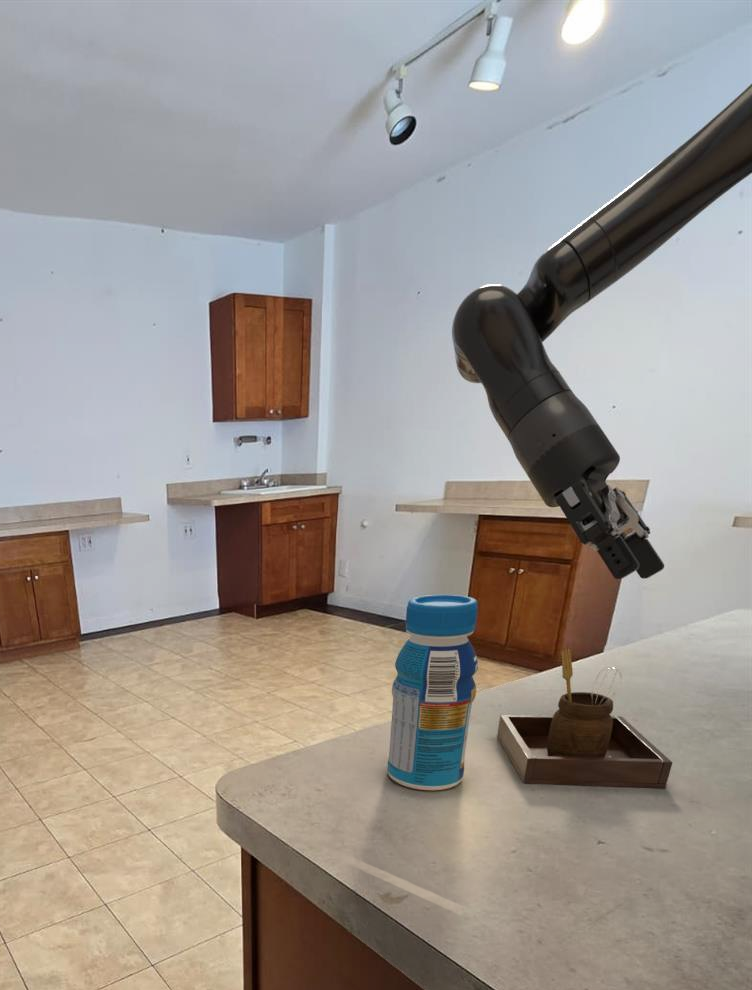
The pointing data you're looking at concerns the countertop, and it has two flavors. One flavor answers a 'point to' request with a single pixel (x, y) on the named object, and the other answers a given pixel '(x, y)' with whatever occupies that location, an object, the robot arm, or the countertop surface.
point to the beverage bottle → (433, 693)
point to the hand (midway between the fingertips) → (642, 574)
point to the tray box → (622, 765)
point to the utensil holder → (581, 720)
